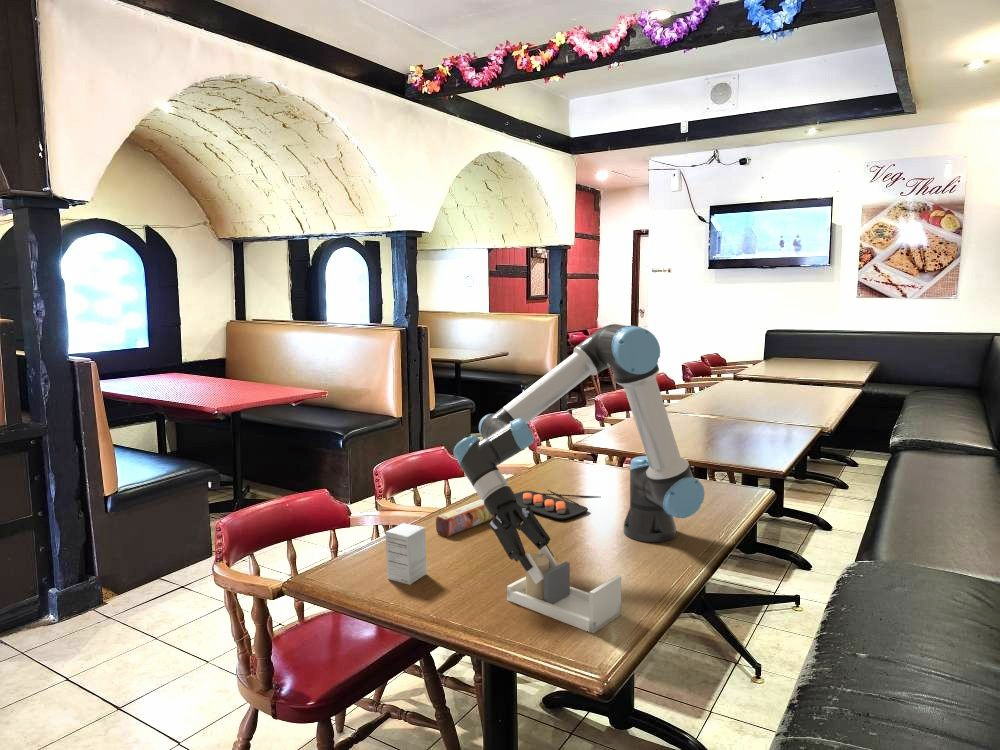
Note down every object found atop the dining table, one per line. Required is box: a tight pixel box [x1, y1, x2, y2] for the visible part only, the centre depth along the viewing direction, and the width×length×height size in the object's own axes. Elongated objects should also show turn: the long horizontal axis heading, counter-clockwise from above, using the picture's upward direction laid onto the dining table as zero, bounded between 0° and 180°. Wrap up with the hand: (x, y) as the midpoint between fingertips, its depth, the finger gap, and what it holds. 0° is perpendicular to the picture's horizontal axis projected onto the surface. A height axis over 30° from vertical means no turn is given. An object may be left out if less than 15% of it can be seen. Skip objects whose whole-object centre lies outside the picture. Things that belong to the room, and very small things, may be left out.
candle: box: [525, 553, 549, 600], centre depth 159 cm, size 6×6×10 cm
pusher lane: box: [506, 574, 622, 634], centre depth 155 cm, size 11×24×9 cm, turn 48°
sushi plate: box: [514, 489, 600, 520], centre depth 230 cm, size 29×30×4 cm
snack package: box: [435, 498, 494, 538], centre depth 208 cm, size 21×7×7 cm, turn 138°
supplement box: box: [385, 522, 428, 585], centre depth 172 cm, size 7×7×13 cm
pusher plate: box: [544, 561, 571, 604], centre depth 156 cm, size 8×1×8 cm, turn 138°
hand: (548, 576), depth 156 cm, fingers closed on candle, 6 cm apart
